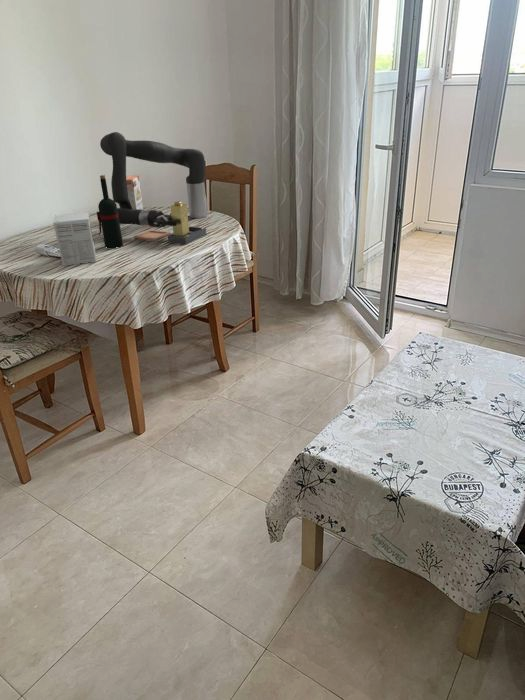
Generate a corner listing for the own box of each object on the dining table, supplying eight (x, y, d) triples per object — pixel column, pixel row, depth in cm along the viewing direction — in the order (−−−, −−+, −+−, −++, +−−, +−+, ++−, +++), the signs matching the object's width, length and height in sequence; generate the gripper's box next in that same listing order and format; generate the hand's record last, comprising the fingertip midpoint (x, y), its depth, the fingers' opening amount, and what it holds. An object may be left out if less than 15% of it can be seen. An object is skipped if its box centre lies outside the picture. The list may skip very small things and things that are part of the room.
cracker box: (138, 221, 269) (132, 179, 260) (127, 221, 270) (120, 179, 260) (144, 215, 282) (139, 174, 272) (133, 215, 282) (127, 175, 272)
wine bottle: (104, 243, 235) (91, 174, 221) (125, 243, 233) (114, 173, 220) (97, 248, 228) (84, 177, 214) (119, 248, 227) (108, 177, 213)
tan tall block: (180, 239, 237) (176, 200, 229) (190, 240, 235) (186, 201, 227) (174, 242, 233) (170, 203, 225) (183, 243, 231) (179, 203, 223)
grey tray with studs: (188, 232, 246) (188, 225, 244) (206, 234, 242) (205, 227, 241) (168, 242, 233) (167, 234, 231) (186, 244, 229) (185, 236, 227)
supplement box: (96, 262, 211) (88, 219, 202) (62, 266, 208) (52, 222, 199) (96, 253, 222) (88, 211, 214) (63, 256, 219) (54, 215, 211)
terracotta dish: (149, 232, 248) (149, 229, 248) (170, 234, 244) (170, 232, 243) (134, 239, 239) (133, 236, 238) (155, 241, 234) (155, 238, 234)
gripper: (140, 213, 228) (171, 216, 222) (159, 206, 240) (189, 209, 233) (143, 230, 232) (173, 233, 225) (161, 223, 243) (191, 225, 237)
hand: (181, 221), depth 229 cm, fingers open, 8 cm apart
